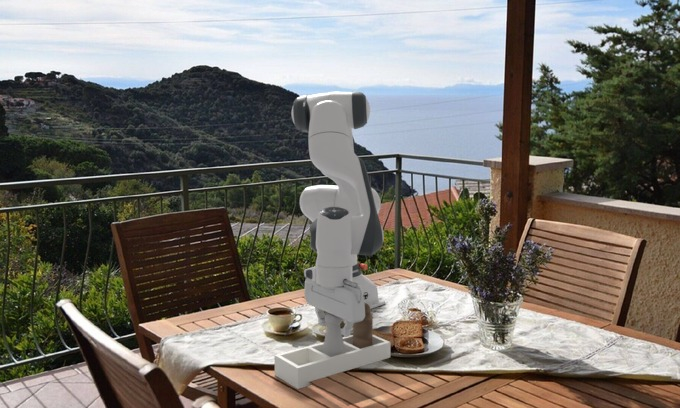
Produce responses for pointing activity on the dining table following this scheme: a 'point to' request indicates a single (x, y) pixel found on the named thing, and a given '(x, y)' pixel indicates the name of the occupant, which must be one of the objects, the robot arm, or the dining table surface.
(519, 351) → the dining table surface
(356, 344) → the pepper mill
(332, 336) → the salt shaker
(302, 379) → the caddy
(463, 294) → the dining table surface
